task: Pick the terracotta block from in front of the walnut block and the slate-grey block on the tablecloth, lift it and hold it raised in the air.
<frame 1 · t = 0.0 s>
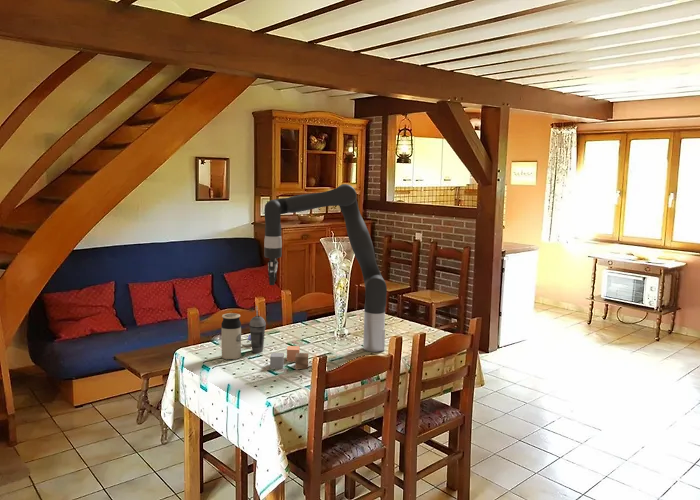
hand: (272, 283, 251), 29 cm above the table, tool pointing down, fingers open, 8 cm apart
walnut block: (301, 367, 232), on the table
beverage cup: (257, 351, 250), on the table
terracotta block: (293, 359, 241), on the table
slate block: (276, 366, 231), on the table
geometric puzzle: (255, 345, 259), on the table
travel mug: (231, 357, 241), on the table
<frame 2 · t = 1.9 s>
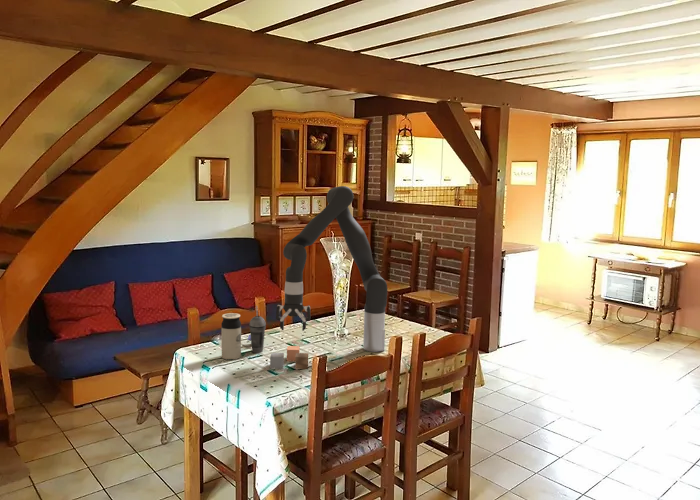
hand: (292, 330, 239), 13 cm above the table, tool pointing down, fingers open, 8 cm apart
nothing on the table moved.
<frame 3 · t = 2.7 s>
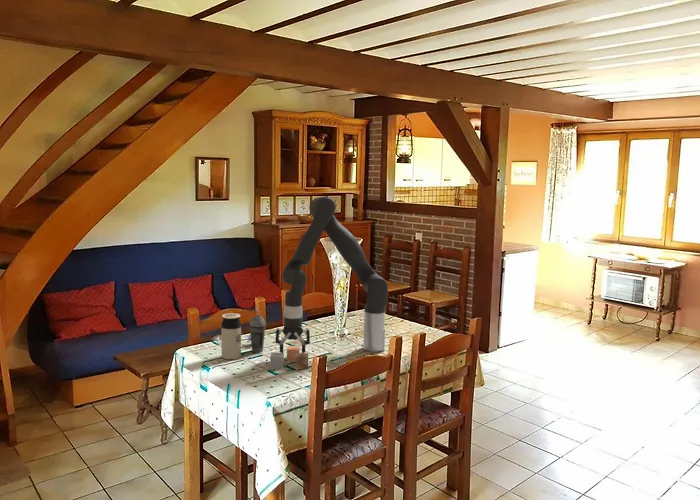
hand: (292, 353, 240), 3 cm above the table, tool pointing down, fingers open, 8 cm apart
nothing on the table moved.
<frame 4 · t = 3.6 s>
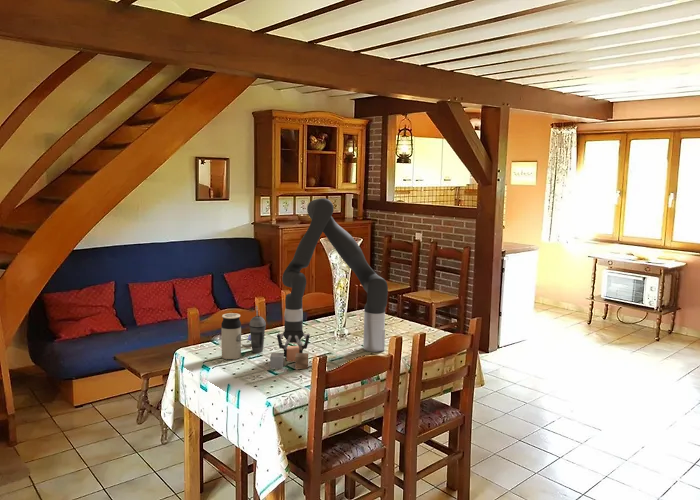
hand: (293, 357, 241), 1 cm above the table, tool pointing down, fingers closed on terracotta block, 5 cm apart
terracotta block: (293, 359, 241), on the table, touching gripper
everything else where it was.
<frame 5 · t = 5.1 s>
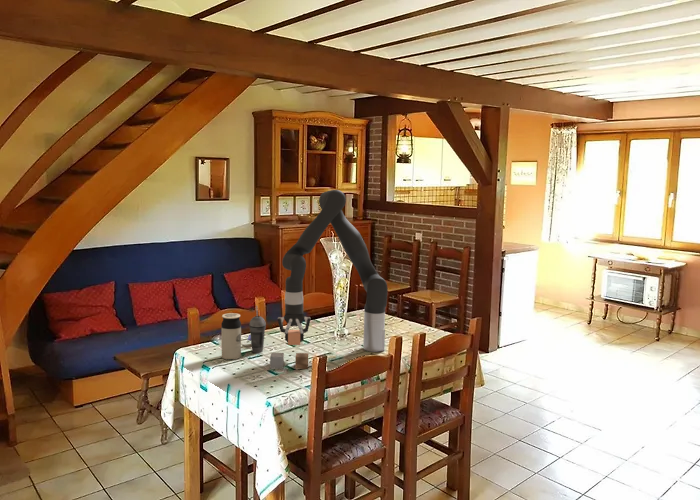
hand: (294, 341, 239), 8 cm above the table, tool pointing down, fingers closed on terracotta block, 5 cm apart
terracotta block: (294, 343, 239), point 7 cm above the table, touching gripper
everything else where it was.
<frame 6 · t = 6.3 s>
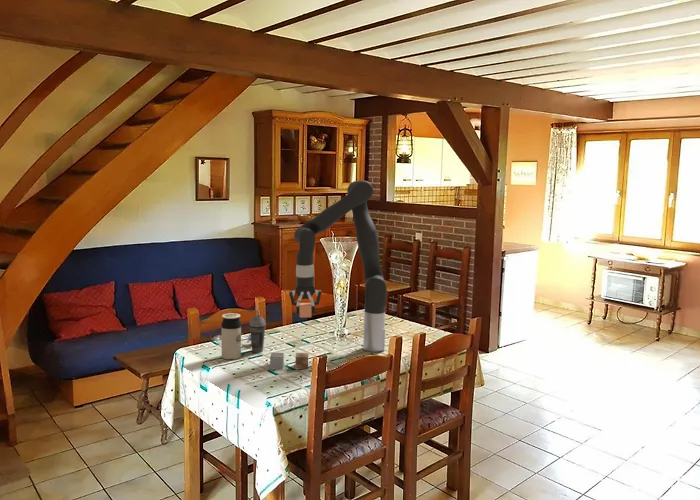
hand: (305, 314, 244), 18 cm above the table, tool pointing down, fingers closed on terracotta block, 5 cm apart
terracotta block: (305, 315, 244), point 17 cm above the table, touching gripper
everything else where it was.
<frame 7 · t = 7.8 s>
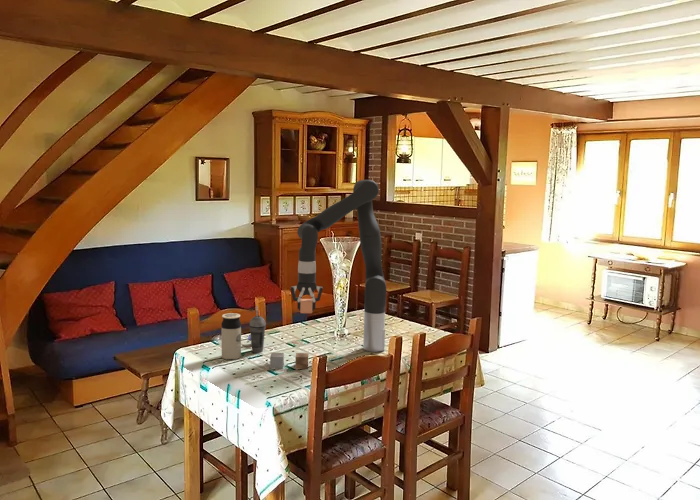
hand: (306, 310, 245), 19 cm above the table, tool pointing down, fingers closed on terracotta block, 5 cm apart
terracotta block: (306, 311, 245), point 19 cm above the table, touching gripper
everything else where it was.
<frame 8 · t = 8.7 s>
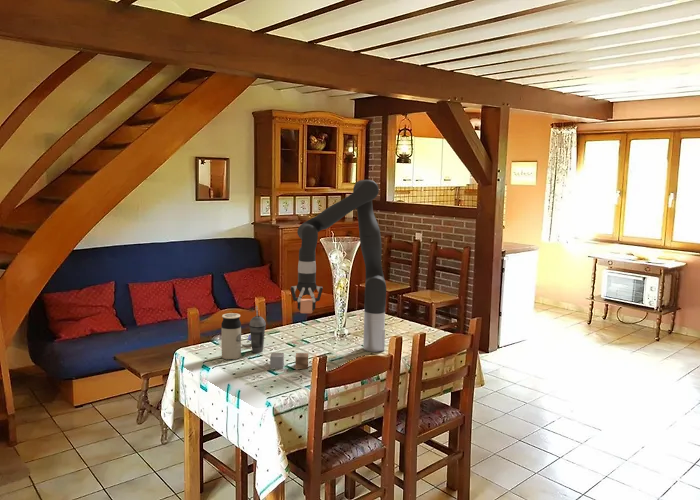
hand: (306, 310, 245), 19 cm above the table, tool pointing down, fingers closed on terracotta block, 5 cm apart
terracotta block: (306, 311, 245), point 19 cm above the table, touching gripper
everything else where it was.
at the end: the gripper is holding terracotta block; terracotta block point 18.7 cm above the table; slate block moved 0.1 cm from its start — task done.
